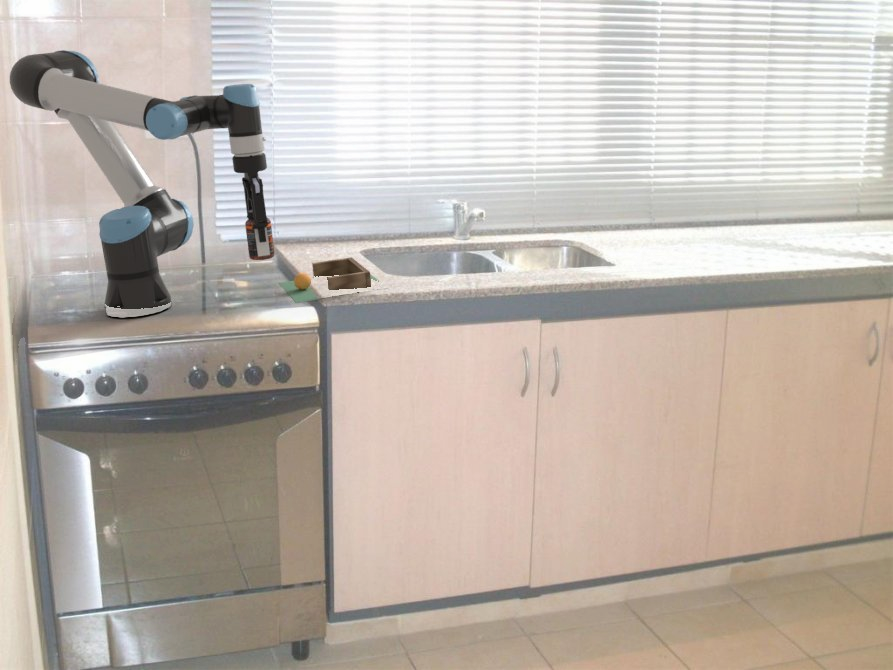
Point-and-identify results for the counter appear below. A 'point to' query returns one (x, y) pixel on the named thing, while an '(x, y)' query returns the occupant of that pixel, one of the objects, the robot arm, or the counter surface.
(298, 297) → the pitch mat
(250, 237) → the supplement bottle
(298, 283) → the ball
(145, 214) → the robot arm
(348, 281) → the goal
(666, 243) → the counter surface
